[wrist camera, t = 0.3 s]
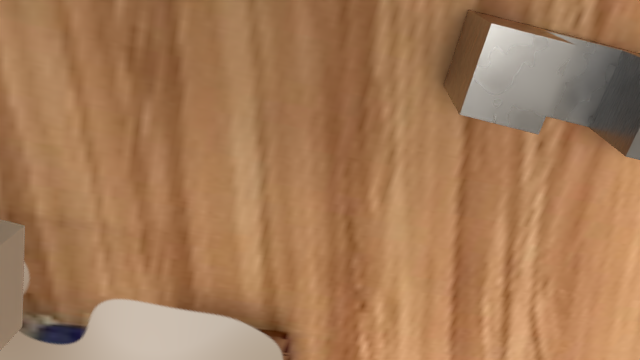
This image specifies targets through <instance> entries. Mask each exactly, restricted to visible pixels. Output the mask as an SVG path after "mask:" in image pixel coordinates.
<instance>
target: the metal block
mask: <svg viewBox="0 0 640 360" xmlns="http://www.w3.org/2000/svg"><path fill="white" fill-rule="evenodd" d="M443 86H444V88H445V89H446V91H447V93H448V95H449V96H450V98H451V100H452V102H453V104H454V105H455V107H456V109H457V111H458V112H459V114H460V115H464V116H468V117H472V118H476V119H479V120H483V121H487V122H491V123H495V124H499V125H503V126H507V127H511V128H515V129H519V130H523V131H527V132H531V133H535V134H539V132H540V130H541V127H542V125H543V122H544V120H545V118H546V116H547V117H551V118H555V119H559V120H563V121H567V122H571V123H575V124H579V125H583V126H587V127H589V128H591V129H592V130H593V131H594V132H596V133H597V134H598V135H600V136H601V137H602V138H603V139H605V140H606V141H607V142H608V143H610V144H611V145H612V146H613V147H615V148H616V149H617V150H618V151H620V152H621V153H622V154H623V155H625V156H626V157H630V158H634V159H638V160H640V53H636V52H632V51H628V50H624V49H620V48H616V47H612V46H608V45H604V44H600V43H597V42H593V41H589V40H585V39H581V38H577V37H573V36H569V35H565V34H561V33H557V32H554V31H550V30H546V29H542V28H538V27H534V26H530V25H526V24H522V23H518V22H514V21H511V20H507V19H503V18H499V17H495V16H491V15H487V14H483V13H479V12H475V11H471V10H468V13H467V16H466V19H465V22H464V25H463V28H462V31H461V34H460V37H459V40H458V43H457V46H456V49H455V52H454V55H453V58H452V61H451V64H450V67H449V70H448V73H447V76H446V79H445V82H444V85H443Z"/></svg>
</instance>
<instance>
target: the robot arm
mask: <svg viewBox="0 0 640 360" xmlns="http://www.w3.org/2000/svg"><path fill="white" fill-rule="evenodd" d="M24 238H25V226H24V225H20V224H16V223H12V222H8V221H4V220H0V350H1V349H2V348H3V347H4V346H5V345H6V344H7V343H8V342H9V341H10V339H11V338H12V337H13V336H14V335H15V334H16V333H17V332H18V331H19V330H20V329H21V327H22V317H23V277H24Z"/></svg>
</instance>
